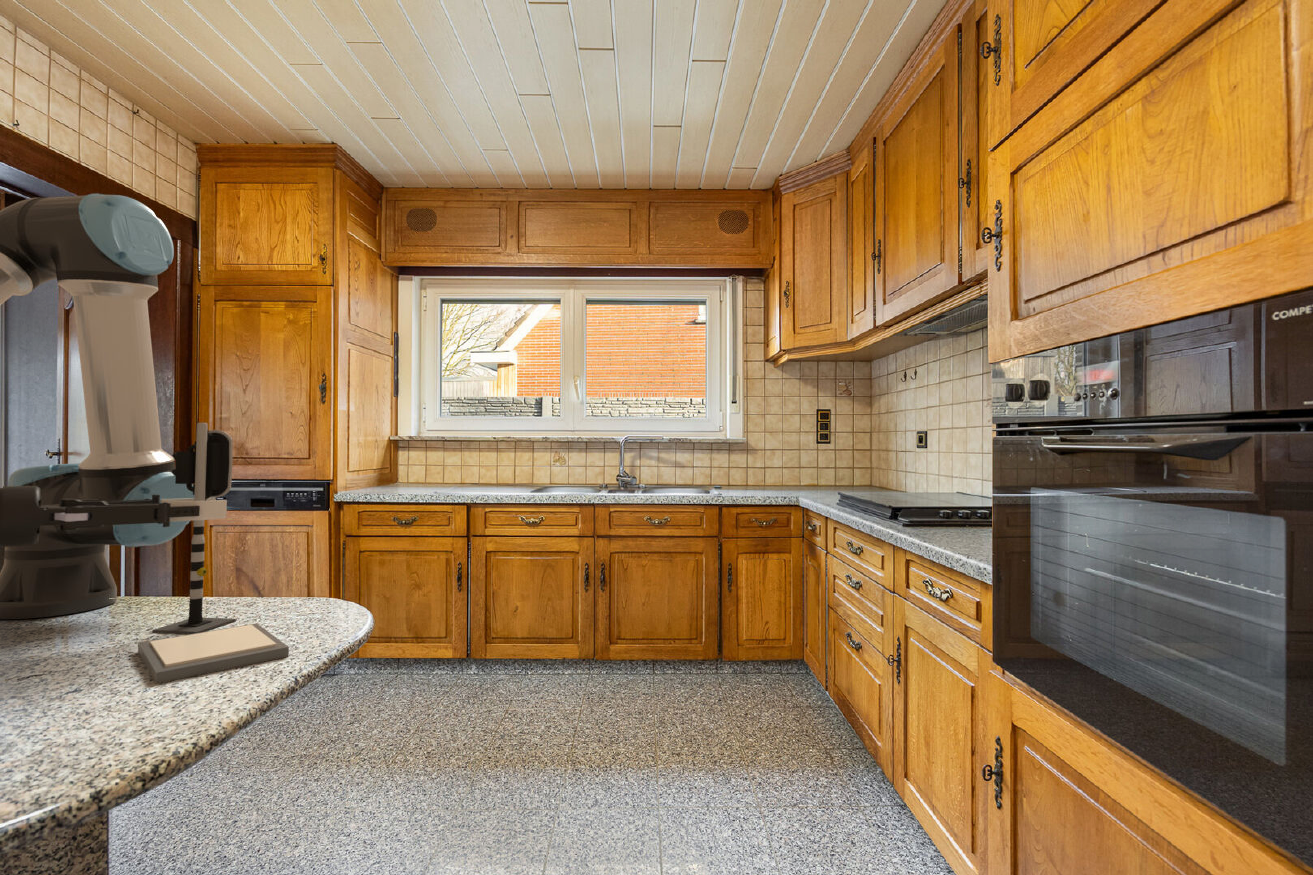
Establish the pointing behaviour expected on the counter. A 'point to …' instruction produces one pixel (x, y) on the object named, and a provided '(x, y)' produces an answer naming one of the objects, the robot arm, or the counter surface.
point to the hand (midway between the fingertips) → (219, 507)
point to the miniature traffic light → (209, 479)
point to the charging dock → (209, 652)
